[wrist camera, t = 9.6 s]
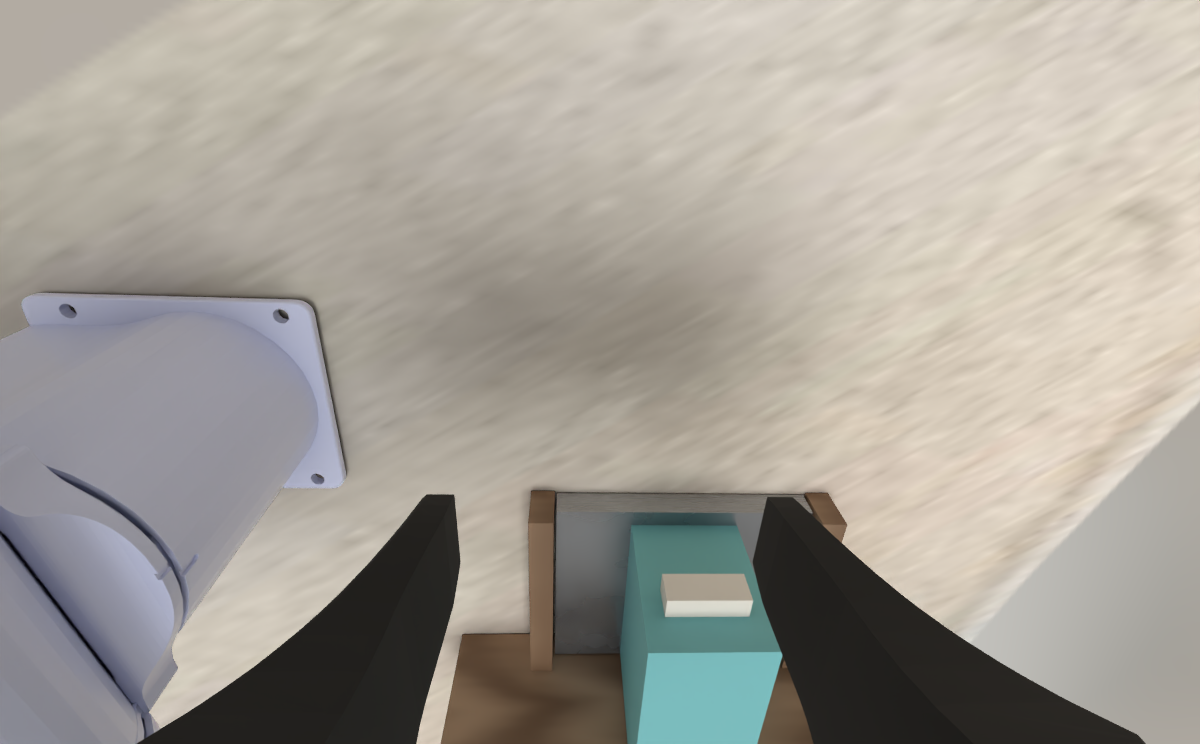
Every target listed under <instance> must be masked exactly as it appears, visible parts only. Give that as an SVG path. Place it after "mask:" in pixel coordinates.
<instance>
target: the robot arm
mask: <svg viewBox="0 0 1200 744" xmlns="http://www.w3.org/2000/svg"><path fill="white" fill-rule="evenodd" d="M69 305H71V306H72V307H74V309H75V310H76V313H74V312H73V311H72V310H71V309H70V308H69ZM21 306H22V310H23V312H24V314H25V317H26V319H27V321H28V323H29V327H27V328H24V329H22V330H20V331H18V332H16V333H13V334H11V335H9V336H7V337H5V338H2V339H0V744H416V742H417V737H418V732H419V726H420V722H421V718H422V714H423V710H424V706H425V702H426V699H427V695H428V692H429V688H430V685H431V681H432V678H433V674H434V671H435V667H436V664H437V660H438V657H439V654H440V650H441V647H442V643H443V640H444V636H445V633H446V629H447V626H448V622H449V619H450V615H451V611H452V608H453V604H454V598H455V592H456V586H457V580H458V574H459V568H460V552H459V541H458V530H457V519H456V508H455V498H454V495H428V494H427V495H426V496H425V497H424V498H422V500H421V501H420V502H419V504H418V505H417V506H416V507H415V509H414V510H413V511H412V513H411V514H410V515H409V516H408V518H407V519H406V520H405V521H404V523H403V524H402V525H401V526H400V528H399V529H398V530H397V531H396V532H395V534H394V535H393V536H392V537H391V538H390V540H389V541H388V542H387V543H386V544H385V545H384V546H383V548H382V549H381V550H380V551H379V552H378V553H377V554H376V556H375V557H374V558H373V559H372V560H371V561H370V562H369V564H368V565H367V566H366V567H365V568H364V569H363V570H362V571H361V572H360V573H359V574H358V575H357V576H356V577H355V578H354V579H353V580H352V581H351V582H350V583H349V584H348V585H347V587H346V588H345V589H344V590H343V591H342V592H341V593H340V594H339V595H338V596H337V597H336V598H335V599H334V600H332V601H331V602H330V603H329V604H328V605H327V606H326V607H325V608H324V609H323V610H322V611H321V612H320V613H319V614H318V615H316V616H315V617H314V618H313V619H312V620H311V621H310V622H309V623H307V624H306V625H305V626H304V627H303V628H302V629H301V630H299V631H298V632H297V633H296V634H295V635H293V636H292V637H291V638H290V639H288V640H287V641H286V642H285V643H284V644H282V645H281V646H280V647H279V648H277V649H276V650H275V651H274V652H272V653H271V654H270V655H269V656H267V657H266V658H265V659H264V660H262V661H261V662H260V663H258V664H257V665H256V666H255V667H253V668H252V669H251V670H249V671H248V672H246V673H245V674H244V675H242V676H241V677H239V678H238V679H236V680H235V681H234V682H232V683H231V684H229V685H228V686H227V687H225V688H224V689H222V690H221V691H219V692H218V693H216V694H215V695H213V696H212V697H210V698H209V699H207V700H206V701H204V702H203V703H201V704H200V705H198V706H197V707H195V708H194V709H192V710H191V711H189V712H188V713H186V714H184V715H183V716H181V717H180V718H178V719H176V720H175V721H173V722H171V723H170V724H168V725H166V726H165V727H163V728H161V729H160V728H159V726H158V723H157V722H156V721H155V719H154V718H153V717H152V716H151V714H150V713H148V712H149V711H150V710H151V708H152V707H153V705H154V704H155V702H156V701H157V699H158V698H159V696H160V695H161V693H162V692H163V690H164V689H165V687H166V686H167V684H168V683H169V681H170V680H171V678H172V677H173V675H174V674H175V672H176V671H177V669H178V667H177V665H176V663H175V661H174V659H173V655H172V644H173V642H174V640H175V637H176V635H177V634H178V633H179V631H180V630H181V629H182V627H183V626H184V625H185V623H186V622H187V620H188V619H189V618H190V616H191V615H192V613H193V612H194V611H195V609H196V608H197V606H198V605H199V604H200V602H201V601H202V599H203V598H204V597H205V595H206V594H207V592H208V591H209V590H210V588H211V587H212V585H213V584H214V583H215V581H216V580H217V578H218V577H219V576H220V574H221V573H222V571H223V570H224V569H225V567H226V566H227V564H228V563H229V562H230V560H231V559H232V557H233V556H234V555H235V553H236V552H237V550H238V549H239V548H240V546H241V545H242V543H243V542H244V541H245V539H246V538H247V536H248V535H249V534H250V532H251V531H252V529H253V528H254V527H255V525H256V524H257V522H258V521H259V520H260V518H261V517H262V515H263V514H264V512H265V511H266V510H267V508H268V507H269V505H270V504H271V503H272V501H273V500H274V498H275V497H276V496H277V494H278V493H279V491H280V490H281V489H282V488H338V487H340V486H341V485H342V484H343V482H344V480H345V479H346V470H345V465H344V460H343V455H342V450H341V445H340V440H339V435H338V430H337V425H336V420H335V414H334V409H333V404H332V399H331V394H330V389H329V384H328V379H327V374H326V369H325V364H324V359H323V353H322V348H321V343H320V338H319V333H318V328H317V323H316V318H315V313H314V311H313V308H312V307H311V306H310V305H309V304H308V303H306V302H304V301H302V300H294V299H256V298H218V297H180V296H143V295H105V294H67V293H35V294H32V295H29V296H27V297H25V298H24V299H23V300H22V303H21ZM278 309H281V310H284V311H285V312H287V314H288V316H289V319H284V318H282V317H281V316H280V315H279V313H278ZM316 474H320V475H322V476H323V477H324V478H319V477H318V476H316ZM753 567H754V571H755V575H756V579H757V584H758V588H759V591H760V595H761V599H762V603H763V606H764V608H765V611H766V614H767V617H768V619H769V622H770V624H771V627H772V630H773V632H774V635H775V637H776V640H777V643H778V645H779V648H780V650H781V653H782V655H783V658H784V661H785V663H786V666H787V668H788V671H789V673H790V676H791V678H792V681H793V684H794V686H795V689H796V691H797V694H798V696H799V699H800V702H801V705H802V708H803V711H804V714H805V717H806V719H807V723H808V726H809V730H810V733H811V737H812V740H813V744H1145V742H1144V741H1143V740H1142V739H1141V738H1140V737H1139V736H1138V735H1137V734H1135V733H1133V732H1131V731H1129V730H1126V729H1124V728H1123V727H1120V726H1118V725H1116V724H1114V723H1112V722H1110V721H1108V720H1106V719H1104V718H1102V717H1100V716H1098V715H1096V714H1094V713H1092V712H1090V711H1088V710H1086V709H1084V708H1081V707H1080V706H1078V705H1076V704H1073V703H1071V702H1070V701H1068V700H1066V699H1064V698H1062V697H1060V696H1058V695H1056V694H1054V693H1053V692H1051V691H1049V690H1047V689H1046V688H1044V687H1042V686H1040V685H1038V684H1036V683H1034V682H1033V681H1031V680H1029V679H1027V678H1026V677H1024V676H1022V675H1020V674H1019V673H1017V672H1015V671H1014V670H1012V669H1010V668H1008V667H1007V666H1005V665H1003V664H1002V663H1000V662H998V661H997V660H995V659H993V658H992V657H990V656H989V655H987V654H985V653H984V652H982V651H981V650H979V649H978V648H976V647H974V646H973V645H971V644H970V643H968V642H967V641H965V640H964V639H962V638H961V637H959V636H958V635H956V634H955V633H953V632H952V631H950V630H949V629H947V628H946V627H944V626H943V625H942V624H940V623H939V622H938V621H936V620H935V619H933V618H932V617H931V616H929V615H928V614H926V613H925V612H924V611H922V610H921V609H919V608H918V607H917V606H915V605H914V604H913V603H912V602H910V601H909V600H908V599H906V598H905V597H904V596H903V595H901V594H900V593H899V592H898V591H896V590H895V589H894V588H893V587H891V586H890V585H889V584H888V583H887V582H885V581H884V580H883V579H882V578H881V577H879V576H878V575H877V574H876V573H875V572H873V571H872V570H871V569H870V568H869V567H868V566H867V565H865V564H864V563H863V562H862V561H861V560H860V559H859V558H857V557H856V556H855V555H854V554H853V553H852V552H851V551H850V550H849V549H848V548H846V547H845V546H844V545H843V544H842V543H841V542H840V541H839V540H838V539H837V538H836V537H835V536H834V535H832V534H831V533H830V532H829V531H828V530H827V529H826V528H825V527H824V526H823V525H822V524H821V523H820V522H819V521H818V520H817V519H816V518H815V517H814V516H813V515H811V514H810V513H809V512H808V511H807V510H806V509H805V508H804V507H803V506H802V505H801V504H800V503H799V502H798V501H796V500H795V499H794V498H793V497H767V500H766V504H765V508H764V513H763V517H762V522H761V526H760V531H759V535H758V540H757V544H756V548H755V553H754V557H753Z"/></svg>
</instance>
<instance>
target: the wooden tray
mask: <svg viewBox="0 0 1200 744" xmlns="http://www.w3.org/2000/svg"><path fill="white" fill-rule="evenodd" d="M804 498H805V499H806V501H807V503H808V505H809V507H810V508H811V510H812V512H813V516H814V517H815V518H816V519H817V520H818V521H819V522H820V523H821V524H822V525H823V526H824V527H825V528H826V529H827V530H828V531H829V532H830V533H831V534H832V535H834V536H835V537H836V538H837V539H838V540H839V541H840V542H841V543H842V540H843V537H844V533H845V530H846V527H847V524H846V522H845V520H844V519H843V517H842V515H841V514H840V512H839V511H838V509H837V507H836V506H835V504H834V503H833V501H832V499H831V498H830V496H829V494H828V493H805V497H804ZM554 534H555V491H531V501H530V511H529V521H528V539H529V596H530V634H463V635H462V640H461V645H460V650H459V655H458V660H457V665H456V670H455V675H454V680H453V685H452V690H451V695H450V700H449V705H448V710H447V715H446V720H445V725H444V730H443V735H442V740H441V744H627V732H626V719H625V707H624V695H623V683H622V671H621V659H620V653H616V654H555V634H554ZM757 744H813V740H812V737H811V733H810V730H809V726H808V723H807V719H806V717H805V714H804V711H803V708H802V705H801V702H800V699H799V696H798V694H797V691H796V689H795V686H794V684H793V681H792V678H791V676H790V673H789V671H788V668H787V666H786V663H785V661H784V658H783V655H782V659H781V662H780V666H779V669H778V673H777V676H776V680H775V683H774V687H773V690H772V694H771V697H770V701H769V704H768V708H767V711H766V715H765V718H764V722H763V725H762V729H761V732H760V736H759V739H758V743H757Z"/></svg>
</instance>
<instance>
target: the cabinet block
mask: <svg viewBox="0 0 1200 744" xmlns="http://www.w3.org/2000/svg"><path fill="white" fill-rule="evenodd" d="M620 659H621V671H622V683H623V695H624V707H625V719H626V732H627V744H757V743H758V739H759V736H760V732H761V729H762V725H763V722H764V718H765V715H766V711H767V708H768V704H769V701H770V697H771V694H772V690H773V687H774V683H775V680H776V676H777V673H778V669H779V666H780V662H781V659H782V653H781V650H780V648H779V645H778V643H777V640H776V637H775V635H774V632H773V630H772V627H771V624H770V622H769V619H768V617H767V614H766V611H765V608H764V606H763V603H762V599H761V595H760V591H759V588H758V584H757V579H756V576H755V573H754V571H753V568H752V565H751V563H750V560H749V557H748V554H747V552H746V549H745V546H744V543H743V541H742V538H741V535H740V533H739V530H738V527H737V526H707V525H631V535H630V546H629V557H628V568H627V580H626V591H625V602H624V613H623V624H622V635H621V646H620Z"/></svg>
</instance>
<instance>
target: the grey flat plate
mask: <svg viewBox="0 0 1200 744" xmlns="http://www.w3.org/2000/svg"><path fill="white" fill-rule="evenodd" d="M767 497H793V498H794V499H795V500H796V501H798V502H799V503H800V504H801V505H802V506H803V507H804V508H805V509H806V510H807V511H808V512H809V513H810V514H811V515H813V512H812V510H811V508H810V507H809V505H808V503H807V501H806V499H805V498H804V496H803V495H759V494H627V493H557V515H556V599H555V654H616V653H620V646H621V635H622V624H623V613H624V602H625V591H626V580H627V568H628V557H629V546H630V535H631V525H707V526H737V527H738V530H739V533H740V535H741V538H742V541H743V543H744V546H745V549H746V552H747V554H748V557H749V560H750V563H751V565H752V568H753V571H754V567H753V557H754V553H755V548H756V544H757V540H758V535H759V531H760V526H761V522H762V517H763V513H764V508H765V504H766V500H767ZM754 573H755V571H754ZM755 576H756V575H755Z"/></svg>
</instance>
